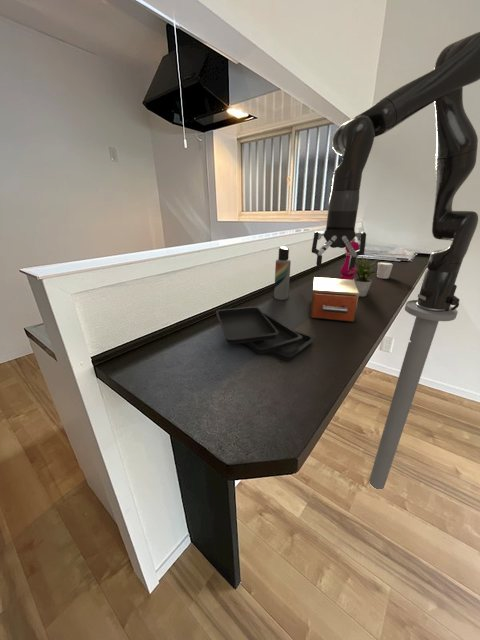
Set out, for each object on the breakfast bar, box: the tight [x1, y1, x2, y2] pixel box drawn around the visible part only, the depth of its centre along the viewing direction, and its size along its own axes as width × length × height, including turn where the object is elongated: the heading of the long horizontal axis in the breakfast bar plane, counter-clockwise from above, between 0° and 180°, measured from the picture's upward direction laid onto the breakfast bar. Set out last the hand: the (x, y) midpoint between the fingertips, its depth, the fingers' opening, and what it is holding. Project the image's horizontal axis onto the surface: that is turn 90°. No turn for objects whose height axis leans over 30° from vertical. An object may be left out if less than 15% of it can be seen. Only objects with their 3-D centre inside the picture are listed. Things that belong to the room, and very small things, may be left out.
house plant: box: [347, 255, 383, 297], centre depth 107 cm, size 14×14×16 cm
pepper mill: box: [339, 237, 359, 280], centre depth 126 cm, size 7×7×20 cm
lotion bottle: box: [273, 246, 292, 301], centre depth 103 cm, size 6×6×20 cm
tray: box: [215, 306, 316, 362], centre depth 73 cm, size 30×23×5 cm
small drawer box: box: [309, 276, 360, 323], centre depth 91 cm, size 16×14×10 cm
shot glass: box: [376, 261, 394, 280], centre depth 133 cm, size 7×7×7 cm
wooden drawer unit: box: [312, 293, 357, 322], centre depth 87 cm, size 19×13×8 cm, turn 164°
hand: (334, 268), depth 78 cm, fingers open, 8 cm apart
